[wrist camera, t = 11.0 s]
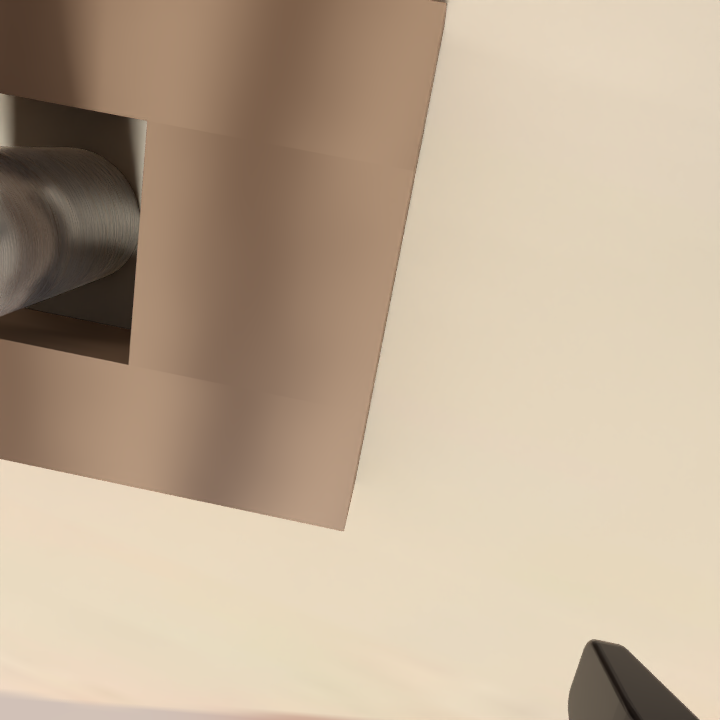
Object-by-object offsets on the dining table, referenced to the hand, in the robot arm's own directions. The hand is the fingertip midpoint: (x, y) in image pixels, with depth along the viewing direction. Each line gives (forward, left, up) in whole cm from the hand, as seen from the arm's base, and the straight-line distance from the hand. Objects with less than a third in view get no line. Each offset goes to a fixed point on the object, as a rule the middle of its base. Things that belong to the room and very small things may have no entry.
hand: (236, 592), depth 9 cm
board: (+9, -2, -13) cm, 16 cm away
